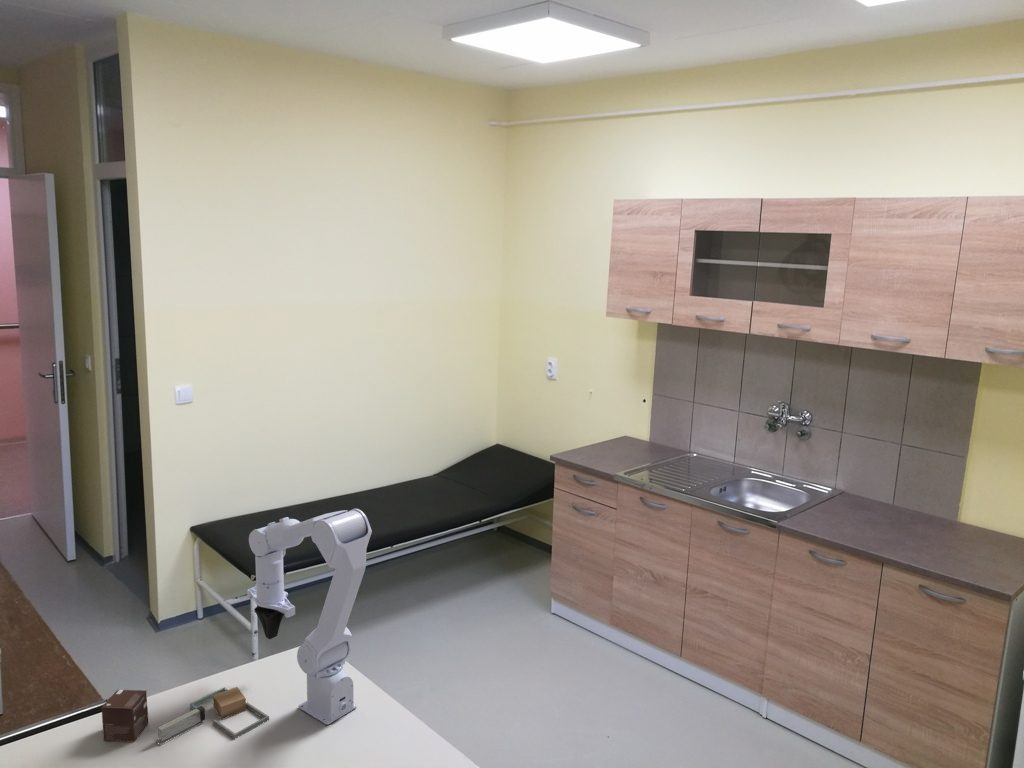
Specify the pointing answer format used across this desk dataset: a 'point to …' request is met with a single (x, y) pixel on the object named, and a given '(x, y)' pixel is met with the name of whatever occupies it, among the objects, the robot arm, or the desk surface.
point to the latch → (181, 723)
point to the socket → (228, 731)
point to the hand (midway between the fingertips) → (271, 636)
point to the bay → (205, 698)
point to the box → (125, 715)
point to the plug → (229, 702)
